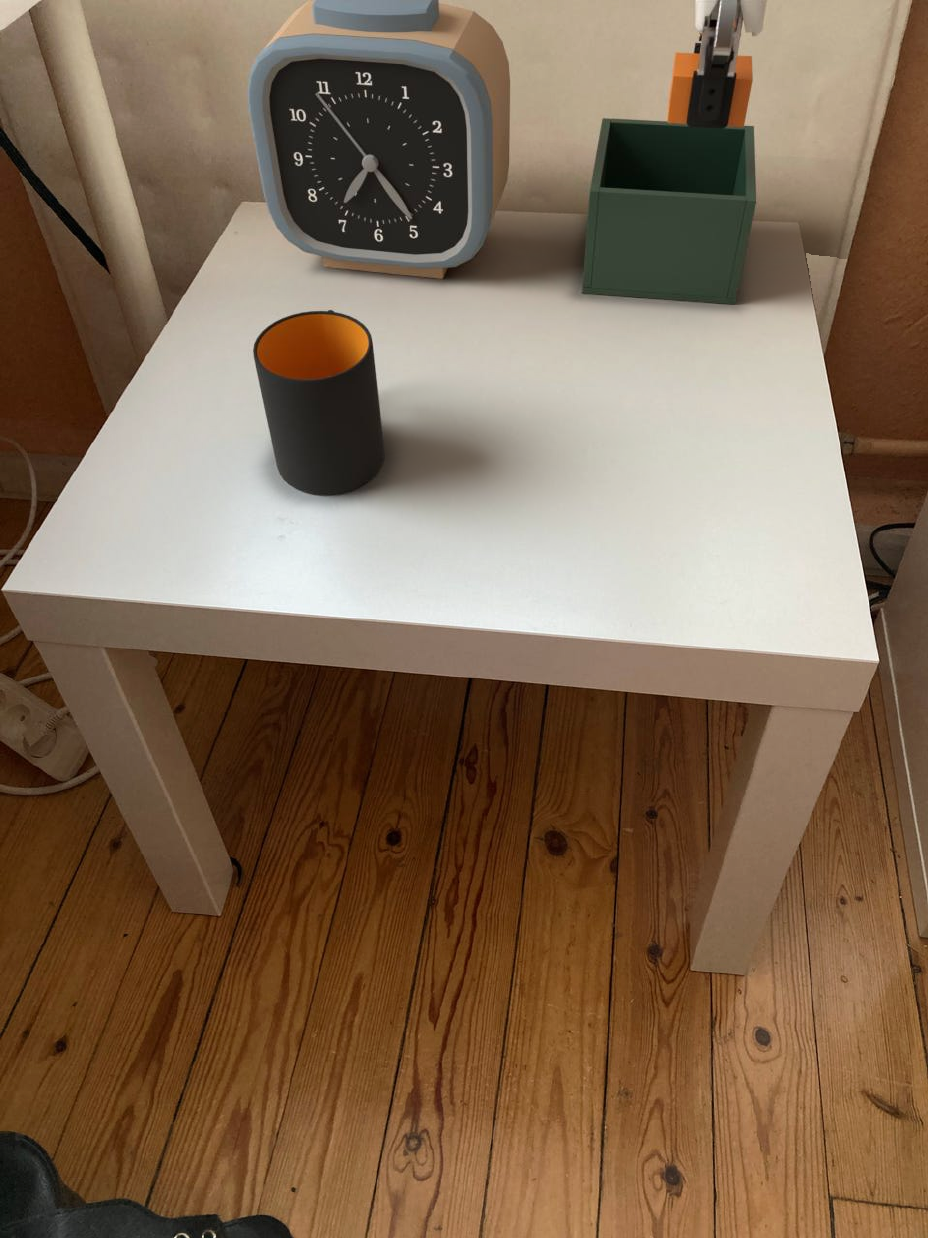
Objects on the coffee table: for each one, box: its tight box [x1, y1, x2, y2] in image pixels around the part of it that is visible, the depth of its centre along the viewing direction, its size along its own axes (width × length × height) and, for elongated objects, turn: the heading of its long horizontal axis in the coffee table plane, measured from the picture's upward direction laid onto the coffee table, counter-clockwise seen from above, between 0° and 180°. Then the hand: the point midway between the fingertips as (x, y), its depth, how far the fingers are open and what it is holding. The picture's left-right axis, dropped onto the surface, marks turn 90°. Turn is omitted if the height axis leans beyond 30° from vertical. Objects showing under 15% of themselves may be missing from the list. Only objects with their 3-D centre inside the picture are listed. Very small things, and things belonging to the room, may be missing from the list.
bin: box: [581, 117, 757, 305], centre depth 92 cm, size 14×14×10 cm
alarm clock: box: [246, 0, 511, 280], centre depth 89 cm, size 21×10×22 cm, turn 78°
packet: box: [667, 52, 754, 127], centre depth 81 cm, size 4×6×4 cm
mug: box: [252, 309, 385, 496], centre depth 76 cm, size 8×12×10 cm
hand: (707, 108), depth 82 cm, fingers closed on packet, 4 cm apart
